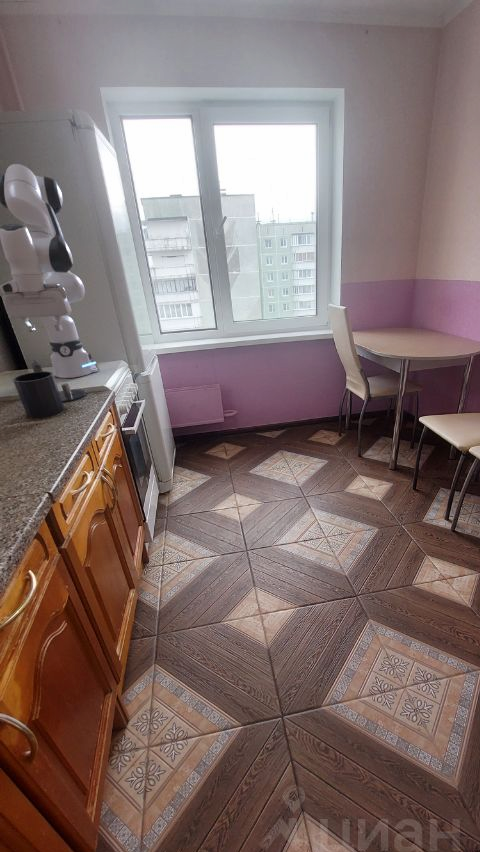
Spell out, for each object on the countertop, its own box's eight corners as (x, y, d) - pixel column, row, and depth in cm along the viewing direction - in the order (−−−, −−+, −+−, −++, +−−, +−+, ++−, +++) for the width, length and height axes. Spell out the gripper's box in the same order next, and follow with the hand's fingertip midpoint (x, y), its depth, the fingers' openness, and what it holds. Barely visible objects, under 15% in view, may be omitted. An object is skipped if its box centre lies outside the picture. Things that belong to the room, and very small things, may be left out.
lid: (54, 395, 143) (49, 381, 141) (88, 391, 146) (84, 377, 143) (47, 405, 133) (42, 391, 131) (84, 401, 136) (80, 387, 133)
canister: (32, 410, 130) (18, 373, 124) (67, 405, 133) (55, 369, 126) (24, 422, 121) (8, 383, 115) (61, 417, 124) (48, 379, 117)
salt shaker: (46, 393, 145) (35, 362, 139) (33, 393, 146) (21, 361, 140) (57, 388, 150) (46, 357, 144) (44, 388, 151) (33, 357, 145)
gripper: (67, 283, 123) (80, 328, 130) (7, 285, 124) (22, 330, 131) (57, 284, 118) (71, 331, 125) (-6, 287, 119) (11, 333, 126)
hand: (45, 331), depth 128 cm, fingers open, 8 cm apart
